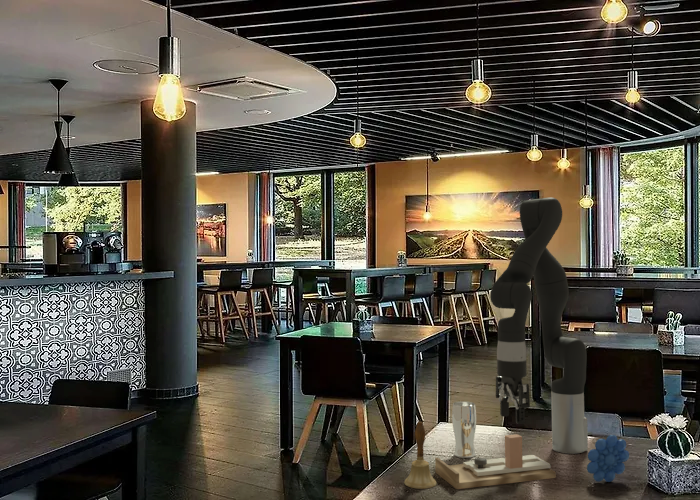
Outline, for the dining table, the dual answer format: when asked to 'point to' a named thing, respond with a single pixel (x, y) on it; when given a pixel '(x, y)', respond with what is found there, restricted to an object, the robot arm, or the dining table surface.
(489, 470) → the panel
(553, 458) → the dining table surface
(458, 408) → the beer glass
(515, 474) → the boss board
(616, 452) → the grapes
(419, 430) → the hand bell
